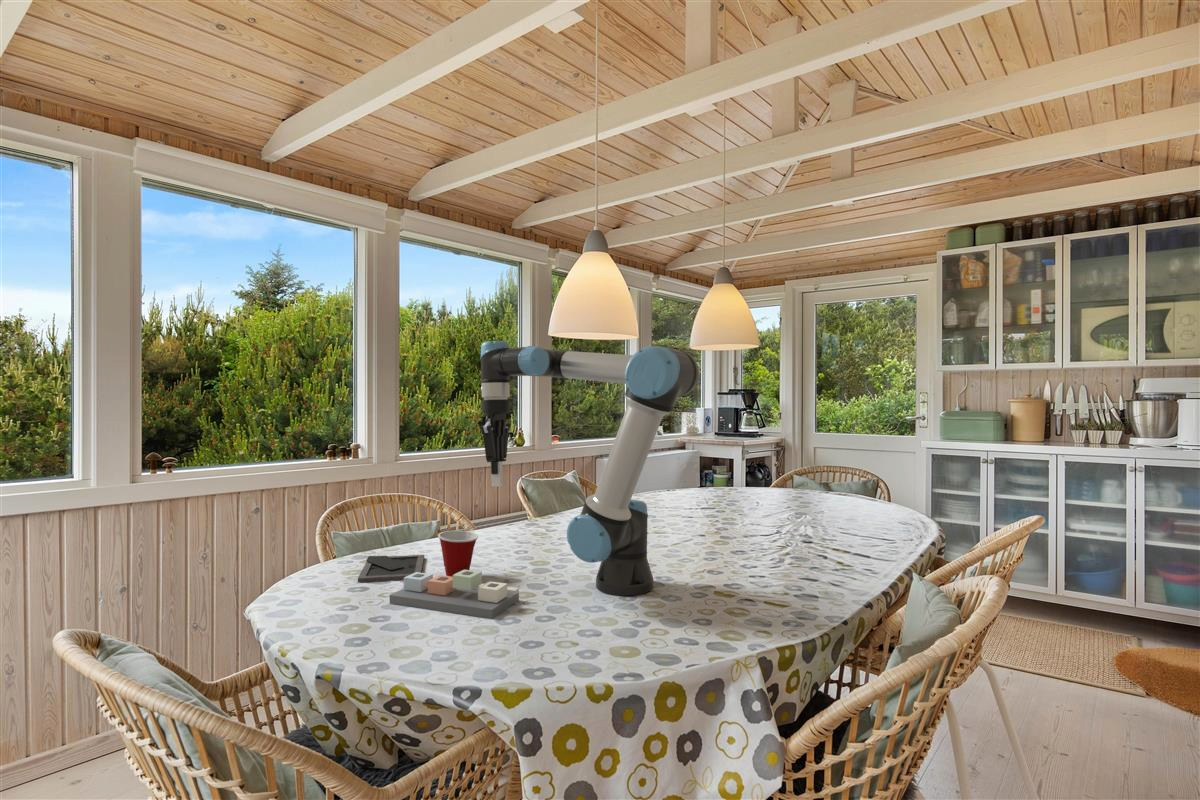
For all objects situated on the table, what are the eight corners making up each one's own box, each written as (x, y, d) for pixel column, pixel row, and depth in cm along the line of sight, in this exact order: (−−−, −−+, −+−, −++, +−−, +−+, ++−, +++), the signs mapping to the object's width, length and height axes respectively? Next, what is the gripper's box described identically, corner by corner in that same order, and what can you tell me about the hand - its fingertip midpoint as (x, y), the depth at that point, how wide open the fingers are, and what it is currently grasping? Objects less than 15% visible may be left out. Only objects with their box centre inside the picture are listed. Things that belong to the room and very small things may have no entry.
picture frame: (368, 562, 185) (357, 584, 164) (368, 555, 185) (357, 576, 164) (424, 559, 188) (420, 580, 168) (424, 553, 188) (420, 573, 168)
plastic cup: (468, 585, 163) (468, 539, 163) (430, 582, 165) (430, 537, 165) (484, 573, 173) (484, 530, 173) (448, 570, 176) (448, 528, 175)
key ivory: (507, 596, 148) (507, 583, 148) (496, 602, 143) (496, 589, 143) (488, 593, 149) (489, 580, 149) (478, 600, 145) (478, 586, 145)
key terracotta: (456, 589, 152) (457, 576, 152) (445, 595, 148) (445, 582, 148) (439, 586, 154) (439, 574, 154) (427, 593, 149) (427, 580, 149)
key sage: (481, 584, 150) (481, 571, 150) (470, 590, 145) (470, 576, 145) (464, 581, 152) (464, 568, 152) (452, 587, 147) (452, 574, 147)
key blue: (432, 586, 155) (433, 573, 155) (420, 592, 150) (420, 579, 150) (416, 583, 157) (416, 571, 156) (403, 589, 152) (403, 577, 152)
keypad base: (518, 600, 151) (518, 588, 151) (491, 618, 139) (492, 605, 139) (422, 587, 161) (422, 575, 161) (389, 603, 148) (389, 590, 148)
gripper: (494, 398, 174) (495, 482, 174) (471, 399, 162) (472, 489, 162) (518, 398, 172) (519, 483, 172) (497, 398, 159) (498, 490, 159)
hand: (497, 486), depth 167 cm, fingers closed
